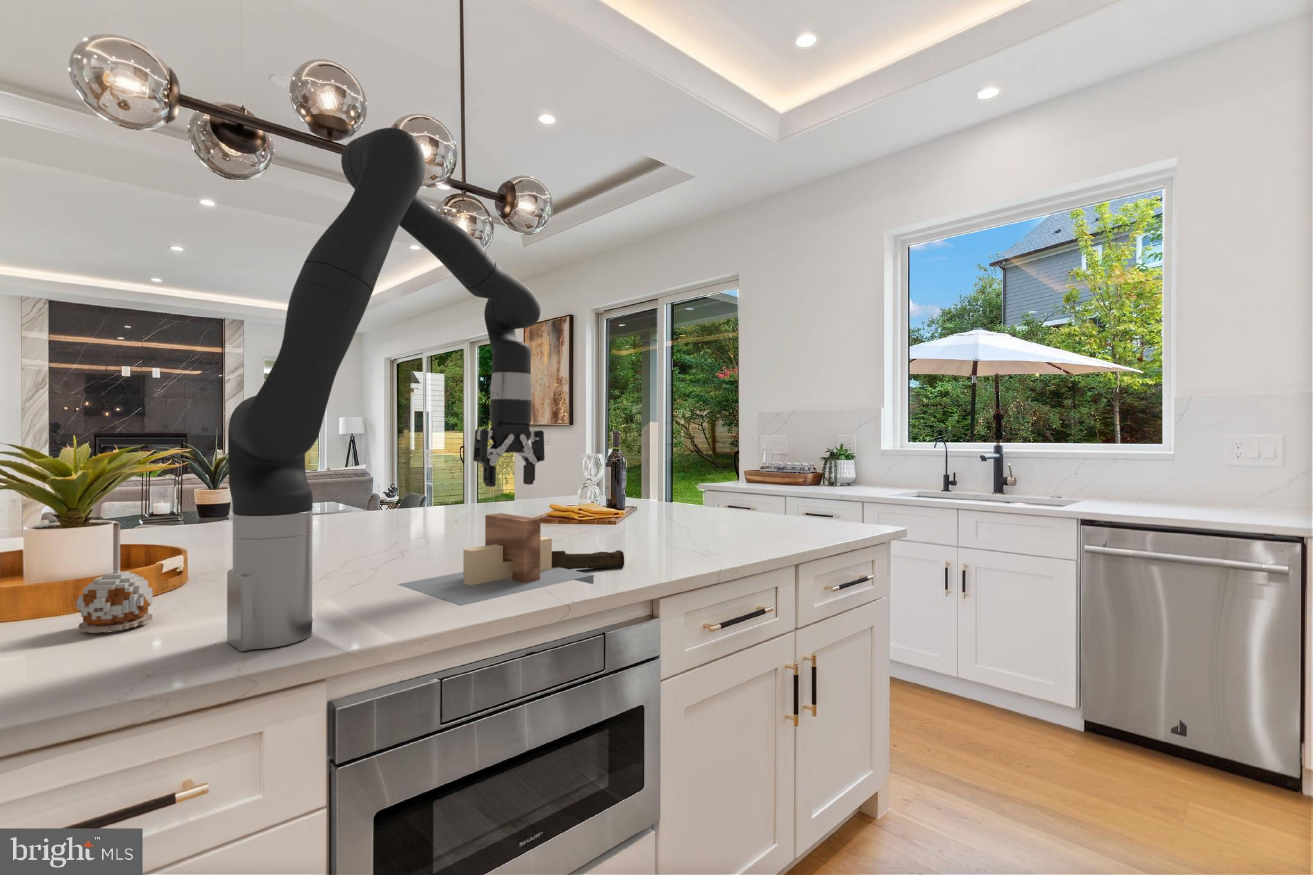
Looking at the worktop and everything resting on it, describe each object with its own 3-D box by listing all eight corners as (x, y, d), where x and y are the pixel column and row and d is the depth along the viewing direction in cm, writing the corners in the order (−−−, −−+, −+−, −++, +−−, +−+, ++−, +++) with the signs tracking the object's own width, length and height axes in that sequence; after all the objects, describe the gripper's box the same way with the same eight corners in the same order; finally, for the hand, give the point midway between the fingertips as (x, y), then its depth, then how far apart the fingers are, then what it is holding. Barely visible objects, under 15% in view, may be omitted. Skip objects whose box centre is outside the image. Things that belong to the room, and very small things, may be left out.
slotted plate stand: (461, 614, 96) (461, 566, 96) (398, 592, 109) (398, 549, 109) (593, 582, 117) (593, 542, 117) (527, 567, 130) (527, 531, 130)
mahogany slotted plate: (523, 583, 110) (524, 521, 110) (485, 572, 118) (485, 514, 118) (540, 579, 113) (540, 519, 113) (501, 569, 121) (501, 513, 121)
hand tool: (618, 568, 133) (617, 546, 134) (625, 569, 130) (625, 546, 130) (531, 574, 125) (531, 550, 126) (536, 575, 121) (536, 551, 122)
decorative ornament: (64, 638, 84) (65, 527, 84) (102, 621, 92) (102, 519, 92) (131, 634, 86) (131, 526, 86) (163, 618, 93) (163, 518, 93)
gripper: (490, 395, 108) (489, 488, 108) (554, 399, 119) (552, 484, 119) (466, 396, 113) (464, 486, 113) (529, 401, 124) (528, 482, 124)
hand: (509, 485), depth 116 cm, fingers open, 8 cm apart
